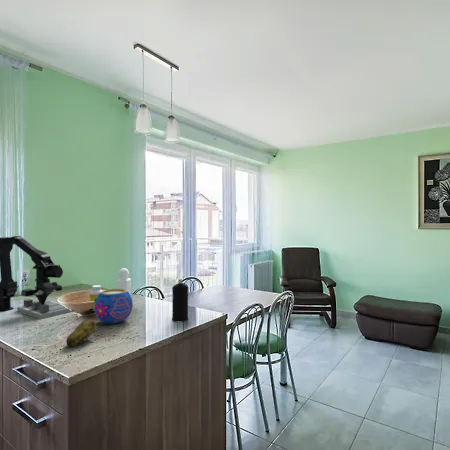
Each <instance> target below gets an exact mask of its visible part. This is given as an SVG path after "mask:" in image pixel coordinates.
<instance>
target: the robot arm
mask: <svg viewBox="0 0 450 450" xmlns="http://www.w3.org/2000/svg"><path fill="white" fill-rule="evenodd" d="M14 245H15V246H16V247H18V248H19V249H20V250H21V251H23V252H24V253H26V254H27V256H28V255H29V257H30V259H31V261H32V262H33V263H34V264H35V265H34V266H32V268H31V269H32V270H35V276H36V277H35V280H34V281H35V284H36V285H35V286H34V289H32V288H26V289H22V290H21V291H20V296H22V297H31V296H35V297H36V299H37V301H38V302H41V305H43V304H45V302H46V301H47V299H48V296H50V295H51V294H52V293H53V292H54V291H56V292H59V291H63V286H62V285H61V284H58V282H57V281H53V282H51V279H50V278H53V279H54V278H57V279H59V278H61V277H62V276H63V274H64V270H63V268H62V267H61V265H60V264H55V262H54V261H53V259H52V258H51V255H50V254H49V253H47V252H46V251H43V250H39V249H37V248H36V247H35V246H34V245H32V243H30V242H29V241H27V240H26V239H24V237H23V236H21V235H14V236H9V237H8V236H3V237H0V312H4V311H8V310H13V309H14V307H13V306H11V305H12V304H11V303H12V301H11V300H12V298H13V297H15V296H16V293H17V292H18V288H19V287H18V281H17V280H14V279H13V273H12V261H11V253H12V250H13V248H14V247H13V246H14Z"/></svg>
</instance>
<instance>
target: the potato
mask: <svg viewBox="0 0 450 450" xmlns="http://www.w3.org/2000/svg"><path fill="white" fill-rule="evenodd" d="M96 329H97V323H96V322H95V321H94V320H91V319H86V320H83V321H82V322H81V323H80V324H79V325H77V326H76V328H75V329H73V331H72V332H71V333H70V334H69V335H68V336H67V338H66V345H67V346H68V347H71V348H72V347H75V346H77V345H79V344H80V343H81V344H82V343H83V342H84V341H86V340H87V339H88V337H90V336H91V335H92V334H94V333H95V332H96Z"/></svg>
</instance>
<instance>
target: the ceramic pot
mask: <svg viewBox="0 0 450 450" xmlns="http://www.w3.org/2000/svg"><path fill="white" fill-rule="evenodd" d="M94 304H95V305H94V309H95V310H94V313H95V315H96V317H97V319H98V321H100V322H103V323H105V324H111V325H113V324H118V323H121V322H123V321H125V320H127V319H128V317H129V316H130V315H131V312H132V310H133V307H134V305H133V304H134V302H133V298H132V294H131V295H130V294H129V292H128V291H126V290H124V289H116V288H109V289H105V290H102V292H101V293H100V294H99V295H98V296H97V298H96V299H95V301H94Z"/></svg>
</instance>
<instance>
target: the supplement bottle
mask: <svg viewBox="0 0 450 450" xmlns="http://www.w3.org/2000/svg"><path fill="white" fill-rule="evenodd" d="M101 288H102V286H101V284H96V285H95V284H94V285H92V286H91V290H90V292H89V302H90V301H95V299H96V298H97V296H98V295H99V294H100V293H101V292H102V291H103V290H102V289H101Z"/></svg>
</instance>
